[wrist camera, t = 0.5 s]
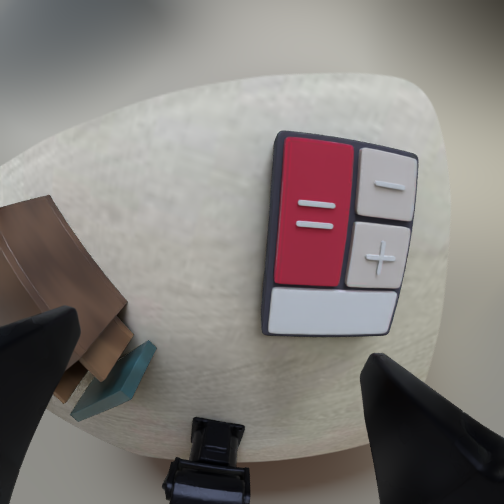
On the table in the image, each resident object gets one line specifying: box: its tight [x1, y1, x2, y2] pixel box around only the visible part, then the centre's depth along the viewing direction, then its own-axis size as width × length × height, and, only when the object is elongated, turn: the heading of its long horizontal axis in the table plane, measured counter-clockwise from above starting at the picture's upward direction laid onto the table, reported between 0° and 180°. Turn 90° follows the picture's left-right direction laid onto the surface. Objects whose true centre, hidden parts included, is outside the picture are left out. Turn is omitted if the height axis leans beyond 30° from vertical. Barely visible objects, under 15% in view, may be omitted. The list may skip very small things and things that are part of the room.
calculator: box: [261, 131, 418, 337], centre depth 20 cm, size 11×4×15 cm
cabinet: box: [0, 195, 127, 371], centre depth 19 cm, size 14×12×9 cm
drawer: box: [53, 316, 157, 422], centre depth 21 cm, size 14×11×7 cm
